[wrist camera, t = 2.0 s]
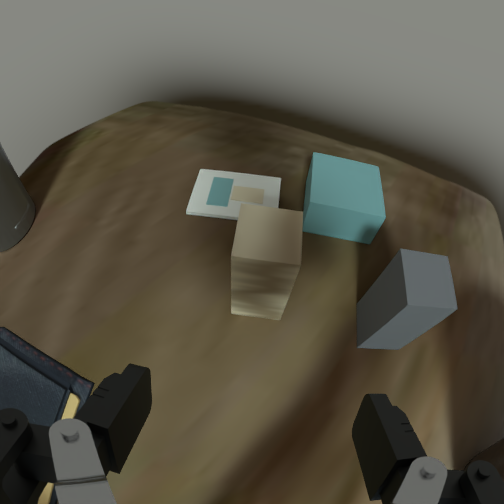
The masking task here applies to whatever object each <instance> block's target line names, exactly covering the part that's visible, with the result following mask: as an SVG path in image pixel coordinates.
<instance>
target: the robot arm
mask: <svg viewBox="0 0 504 504" xmlns="http://www.w3.org/2000/svg"><path fill="white" fill-rule="evenodd" d="M34 216H35V205H34V203H33V201H32V199H31V198H30V196H29V195H28V193H27V191H26V189H25V188H24V186H23V184H22V182H21V181H20V179H19V177H18V175H17V174H16V172H15V171H14V168H13V166H12V165H11V163H10V161H9V159H8V157H7V155H6V153H5V151H4V149H3V148H2V146H1V144H0V252H2V251H5V250H7V249H9V248H11V247H13V246H14V245H15V244H17V243H18V242H19V241H20V240H21V239H22V238H23V237H24V235H25V234H26V233H27V231H28V230H29V228H30V227H31V224H32V222H33V220H34ZM151 405H152V393H151V375H150V369H149V368H147V367H142V366H138V365H134V364H129V365H128V366H127V367H126V368H125V370H124V371H123V372H122V374H118V373H114V374H112V375H110V376H108V377H106V378H104V380H103V381H102V382H101V383H100V385H99V386H98V388H96V390H95V391H94V392H93V395H91V396H90V397H89V398H88V400H87V401H86V402H85V403H84V405H83V406H82V407H81V409H80V410H79V411H78V412H77V414H76V415H75V416H74V417H73V418H66V419H61V420H58V421H56V422H55V423H54V424H53V425H52V426H43V425H37V424H32V423H29V421H28V419H27V416H26V415H25V414H24V413H23V412H22V411H20V410H18V409H15V408H5V409H2V410H0V504H36V503H37V501H38V499H39V497H40V495H41V494H42V492H43V490H44V488H45V487H46V485H47V483H53V484H55V490H56V494H57V498H58V502H59V504H117V503H116V501H115V499H114V496H113V494H112V491H111V489H110V486H109V484H108V481H107V479H106V476H107V474H108V472H109V470H110V471H112V472H115V473H118V474H120V472H121V470H122V468H123V465H124V463H125V461H126V459H127V457H128V455H129V453H130V451H131V449H132V447H133V445H134V443H135V441H136V439H137V437H138V435H139V433H140V431H141V429H142V427H143V425H144V423H145V421H146V419H147V417H148V415H149V413H150V410H151ZM352 438H353V441H354V445H355V448H356V452H357V455H358V459H359V462H360V466H361V470H362V473H363V477H364V481H365V484H366V488H367V492H368V495H369V499H370V501H373V500H382V504H504V482H503V480H502V478H501V476H500V474H499V473H498V471H497V469H496V468H495V467H494V466H493V465H492V464H491V463H489V462H487V461H483V460H478V461H474V462H472V463H471V464H470V465H469V466H468V467H467V469H466V470H465V471H459V470H447V469H446V467H445V465H444V464H443V463H442V462H441V461H439V460H438V459H435V458H433V457H427V455H426V453H425V451H424V449H423V447H422V445H421V443H420V441H419V439H418V437H417V435H416V433H415V432H414V430H413V428H412V426H411V425H410V422H409V420H408V418H407V416H406V414H405V413H404V412H403V411H402V410H400V409H399V408H398V407H397V406H392V405H391V403H390V401H389V399H388V397H387V395H386V394H366V395H365V396H364V398H363V401H362V403H361V406H360V408H359V411H358V413H357V416H356V418H355V421H354V423H353V428H352Z"/></svg>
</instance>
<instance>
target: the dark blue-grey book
mask: <svg viewBox="0 0 504 504" xmlns="http://www.w3.org/2000/svg"><path fill="white" fill-rule="evenodd" d="M93 386H94V383H93V382H91V381H89V380H87V379H85V378H83V377H81V376H79V375H78V374H76V373H75V372H73V371H72V370H70V369H69V368H67V367H66V366H64V365H62V364H61V363H59V362H57V361H56V360H54V359H52V358H51V357H49V356H47V355H46V354H44V353H43V352H41V351H40V350H38V349H36V348H35V347H33V346H32V345H30V344H29V343H27V342H26V341H24V340H23V339H21V338H20V337H18V336H17V335H15V334H14V333H13V332H11V331H9V330H8V329H6V328H5V327H0V410H2V409H5V408H15V409H18V410H20V411H22V412H23V413H24V414H25V415H26V416H27V419H28V421H29V423H32V424H37V425H43V426H52V425H53V424H54V423H55V422H56V421H58V420H61V419H66V418H73V417H74V416H75V415H76V414H77V412H78V411H79V410H80V409H81V407H82V406H83V405H84V403H85V402H86V401H87V400H88V398H89V397H90V394H91V391H92V389H93ZM57 500H58V498H57V494H56V490H55V484H53V483H47V485H46V487H45V488H44V490H43V492H42V494H41V495H40V497H39V499H38V501H37V503H36V504H57Z"/></svg>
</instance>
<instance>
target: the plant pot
mask: <svg viewBox="0 0 504 504" xmlns="http://www.w3.org/2000/svg"><path fill="white" fill-rule="evenodd" d="M478 460H483V461H487V462H489V463H491V464H492V465H493V466H494V467H495V468H496V469H497V471H498V473H499V474H500V476H501V478H502V480H503V482H504V439H502V440H500V441H499V442H497V443H495V444H494V445H492V446H491V447H489V448H488V449H486V450H484V451H483V452H481V453H480V454H478V455H477V456H475V457H474V458H473V459H472V460H471V461H470V462H469V463H468V465H467V466H466V468H465V469H464V471H465V470H466V469H467V467H468V466H469V465H470V464H471V463H472V462H474V461H478Z"/></svg>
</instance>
